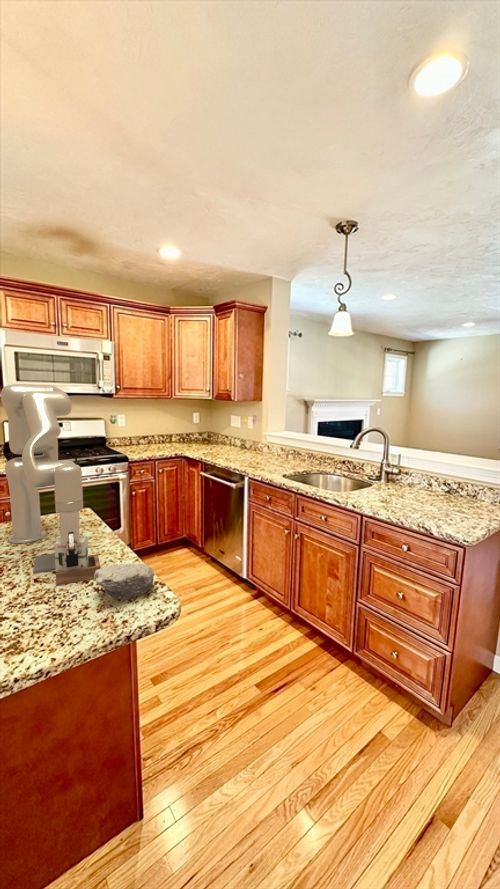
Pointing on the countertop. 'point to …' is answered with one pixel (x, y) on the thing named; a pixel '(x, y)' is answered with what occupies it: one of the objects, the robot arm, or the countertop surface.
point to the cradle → (79, 572)
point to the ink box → (62, 551)
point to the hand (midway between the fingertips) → (72, 561)
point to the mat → (44, 563)
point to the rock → (125, 579)
